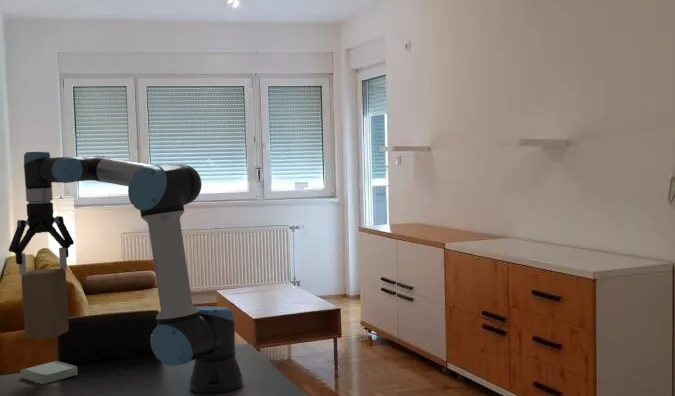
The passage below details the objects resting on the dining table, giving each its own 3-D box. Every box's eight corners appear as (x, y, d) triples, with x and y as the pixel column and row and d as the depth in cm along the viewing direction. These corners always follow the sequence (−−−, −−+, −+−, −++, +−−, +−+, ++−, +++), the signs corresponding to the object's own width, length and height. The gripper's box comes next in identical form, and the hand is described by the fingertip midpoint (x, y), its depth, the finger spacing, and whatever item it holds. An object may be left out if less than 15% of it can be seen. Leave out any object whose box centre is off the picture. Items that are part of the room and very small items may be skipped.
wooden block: (70, 331, 239) (66, 267, 238) (55, 339, 230) (51, 273, 228) (39, 331, 240) (36, 268, 239) (23, 339, 231) (19, 273, 229)
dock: (77, 374, 237) (77, 366, 237) (41, 384, 227) (41, 376, 227) (56, 368, 244) (56, 360, 244) (21, 378, 235) (20, 369, 235)
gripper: (69, 199, 244) (73, 265, 246) (-7, 205, 225) (-2, 276, 227) (82, 199, 239) (86, 266, 241) (6, 205, 220) (10, 278, 222)
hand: (43, 271), depth 234 cm, fingers closed on wooden block, 13 cm apart
